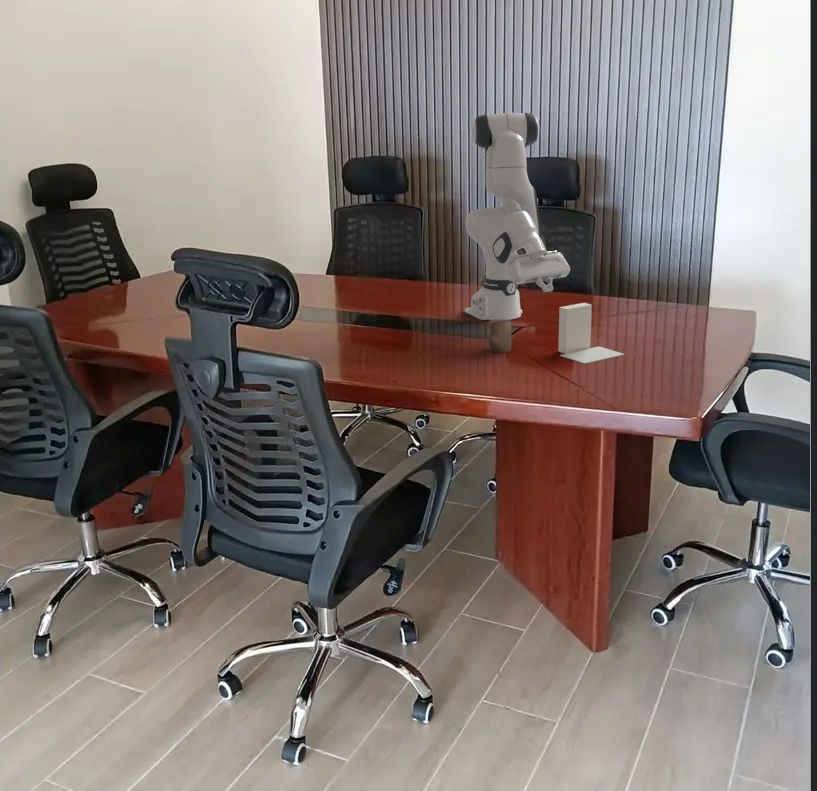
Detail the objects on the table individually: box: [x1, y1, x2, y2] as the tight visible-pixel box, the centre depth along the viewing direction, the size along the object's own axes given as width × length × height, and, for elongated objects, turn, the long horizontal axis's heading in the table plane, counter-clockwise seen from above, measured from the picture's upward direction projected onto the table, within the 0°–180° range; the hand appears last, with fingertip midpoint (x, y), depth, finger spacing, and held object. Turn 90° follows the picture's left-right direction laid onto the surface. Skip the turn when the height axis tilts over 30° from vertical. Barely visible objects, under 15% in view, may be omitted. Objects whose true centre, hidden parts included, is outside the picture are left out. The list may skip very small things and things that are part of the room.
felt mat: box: [559, 346, 625, 365], centre depth 268 cm, size 11×16×1 cm
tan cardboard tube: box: [488, 319, 512, 354], centre depth 276 cm, size 7×7×9 cm
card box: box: [557, 302, 593, 354], centre depth 272 cm, size 4×10×14 cm, turn 122°
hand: (548, 290), depth 277 cm, fingers closed
